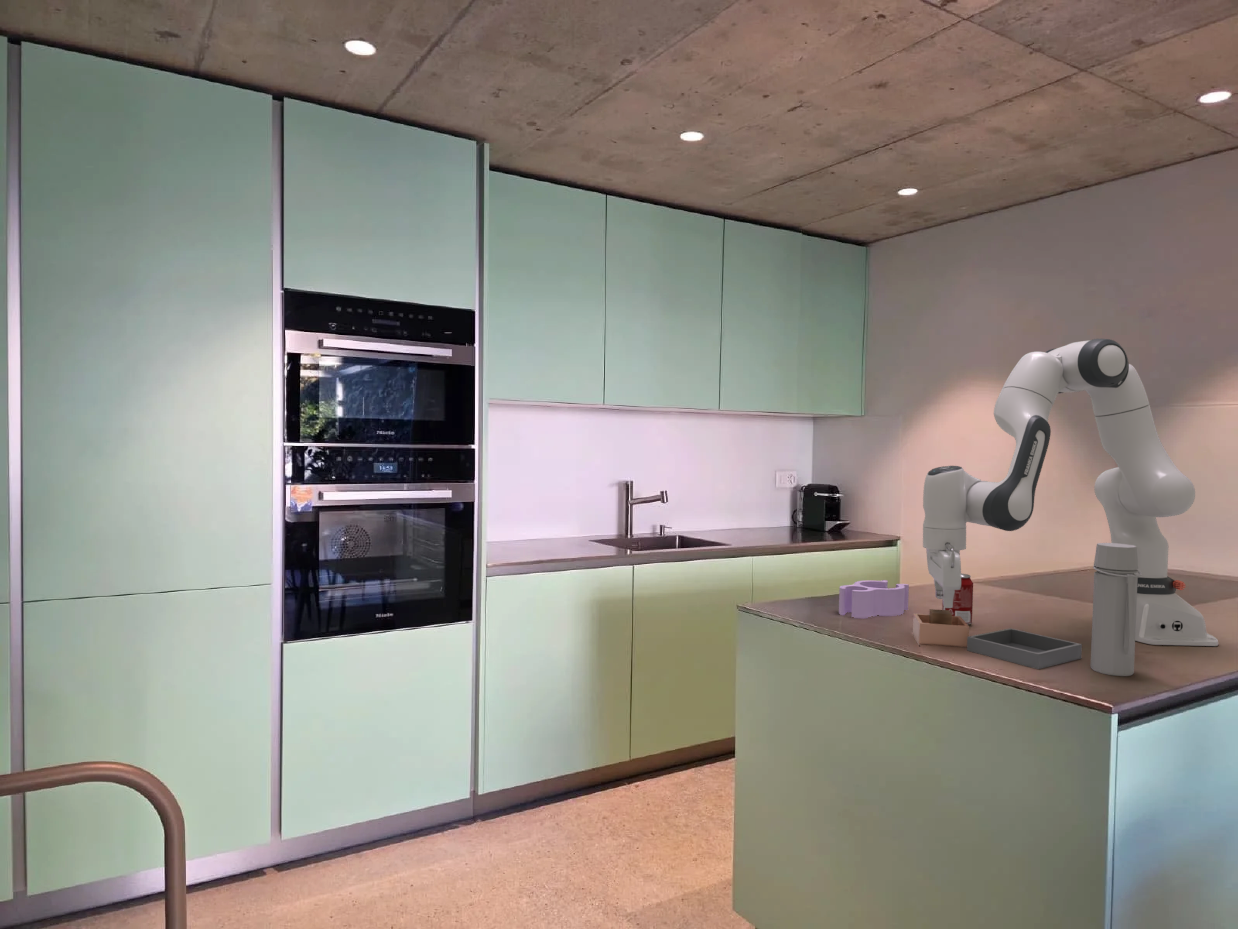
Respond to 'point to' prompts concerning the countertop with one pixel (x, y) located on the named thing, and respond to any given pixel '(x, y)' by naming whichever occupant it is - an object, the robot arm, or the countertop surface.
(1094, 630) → the water bottle
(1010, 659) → the tray
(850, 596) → the clip
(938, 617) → the block
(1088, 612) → the countertop surface
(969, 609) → the soda can
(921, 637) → the peach open box
